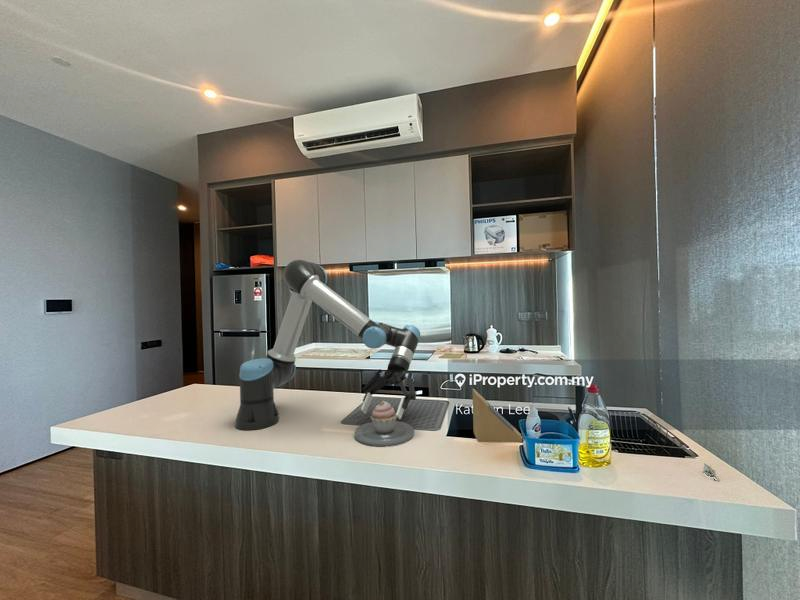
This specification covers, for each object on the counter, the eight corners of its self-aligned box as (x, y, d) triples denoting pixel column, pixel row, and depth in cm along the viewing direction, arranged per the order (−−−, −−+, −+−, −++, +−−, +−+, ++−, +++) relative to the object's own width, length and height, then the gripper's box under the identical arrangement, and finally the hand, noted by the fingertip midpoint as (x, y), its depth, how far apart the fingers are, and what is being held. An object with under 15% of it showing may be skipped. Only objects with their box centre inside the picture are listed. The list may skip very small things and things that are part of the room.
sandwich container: (527, 442, 105) (526, 394, 105) (477, 442, 106) (476, 394, 106) (519, 432, 113) (518, 387, 114) (473, 432, 114) (472, 387, 115)
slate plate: (342, 435, 113) (342, 431, 113) (384, 419, 128) (384, 416, 128) (383, 452, 100) (383, 448, 100) (426, 432, 114) (426, 428, 114)
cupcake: (365, 429, 115) (364, 399, 115) (388, 423, 120) (388, 395, 121) (379, 437, 108) (378, 406, 108) (403, 431, 113) (402, 401, 113)
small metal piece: (693, 471, 86) (693, 459, 86) (704, 472, 85) (704, 460, 85) (707, 482, 80) (706, 470, 80) (719, 484, 80) (718, 471, 80)
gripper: (434, 369, 122) (418, 425, 108) (375, 365, 134) (354, 414, 120) (428, 357, 117) (410, 413, 104) (368, 353, 129) (344, 403, 116)
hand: (380, 414), depth 112 cm, fingers open, 13 cm apart
